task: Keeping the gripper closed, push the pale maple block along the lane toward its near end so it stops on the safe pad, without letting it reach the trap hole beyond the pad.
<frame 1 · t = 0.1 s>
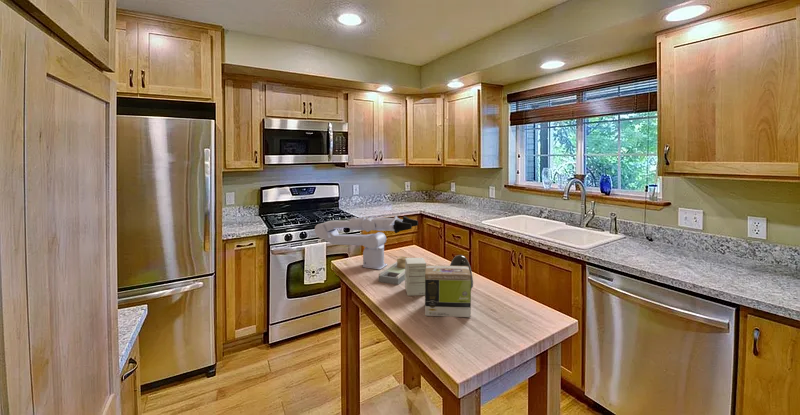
hand: (414, 224, 159), 22 cm above the table, tool horizontal, fingers open, 7 cm apart
supplement box: (415, 292, 140), on the table
tea box: (446, 311, 124), on the table
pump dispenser: (459, 294, 138), on the table
trap lane: (400, 274, 160), on the table
maple block: (403, 266, 162), point 2 cm above the table, touching trap lane
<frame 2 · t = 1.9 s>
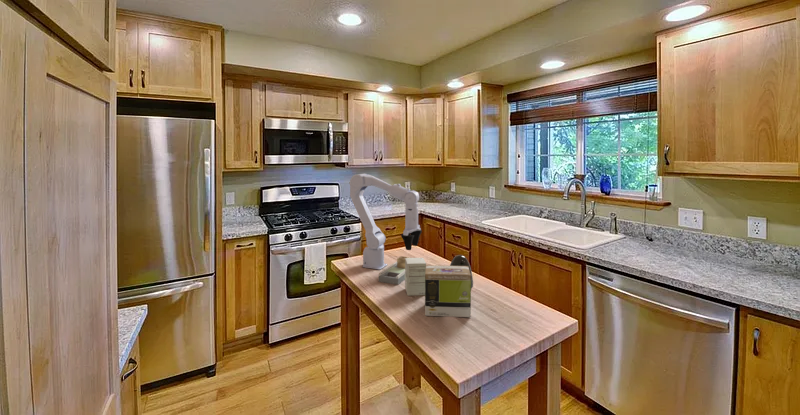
hand: (411, 247, 163), 10 cm above the table, tool pointing down, fingers open, 7 cm apart
nothing on the table moved.
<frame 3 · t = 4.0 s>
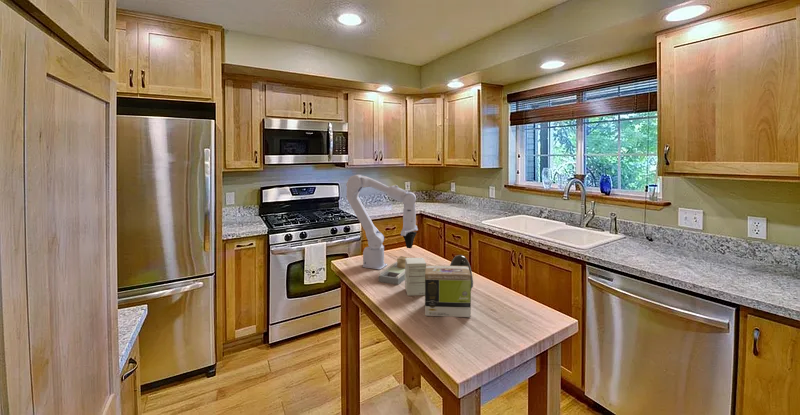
hand: (409, 247, 167), 9 cm above the table, tool pointing down, fingers closed
nothing on the table moved.
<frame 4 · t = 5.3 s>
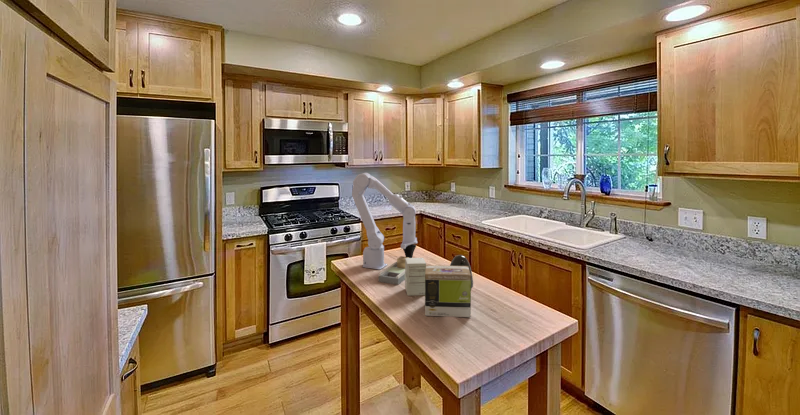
hand: (409, 260, 168), 3 cm above the table, tool pointing down, fingers closed
nothing on the table moved.
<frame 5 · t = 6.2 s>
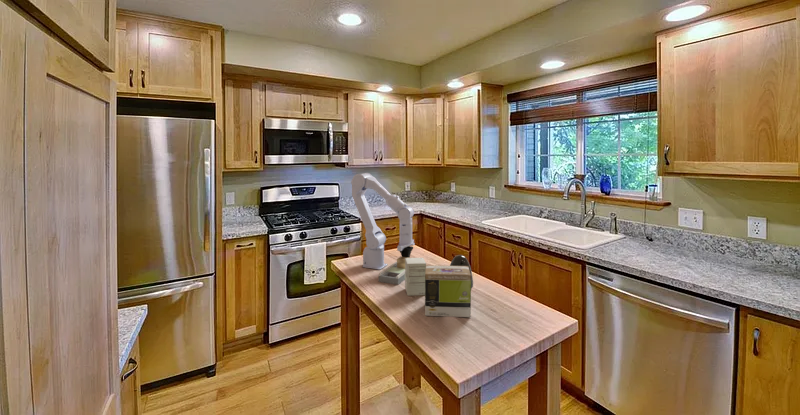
hand: (405, 262, 165), 4 cm above the table, tool pointing down, fingers closed
maple block: (402, 266, 162), point 3 cm above the table, touching gripper
everything else where it was.
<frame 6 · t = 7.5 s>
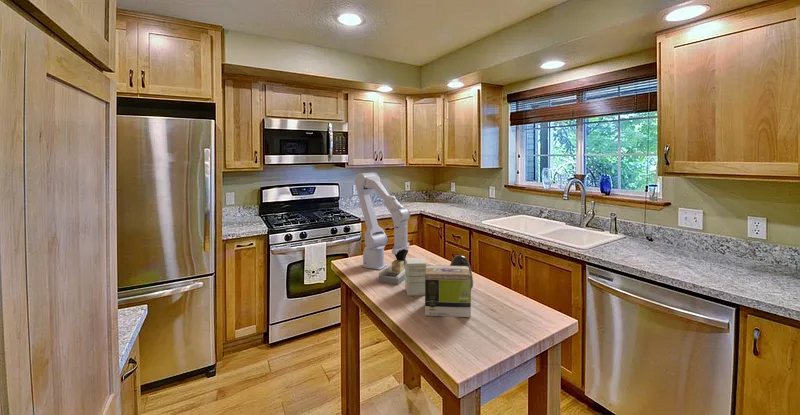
hand: (400, 266, 160), 4 cm above the table, tool pointing down, fingers closed
maple block: (397, 270, 157), point 3 cm above the table, touching gripper, trap lane
everything else where it was.
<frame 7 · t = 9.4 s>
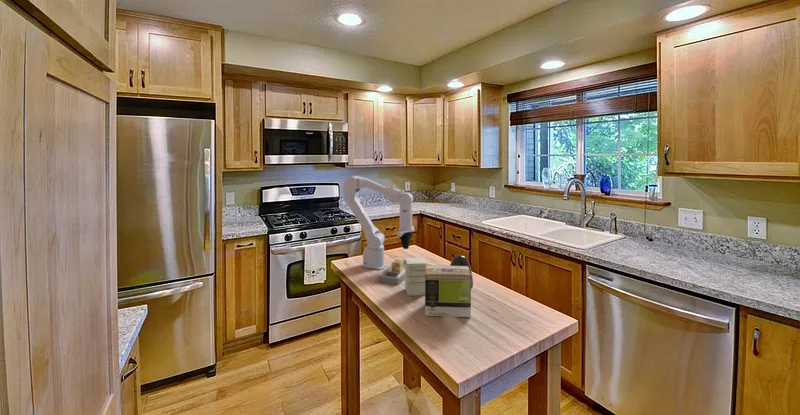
hand: (405, 248, 166), 9 cm above the table, tool pointing down, fingers closed
maple block: (397, 270, 157), point 2 cm above the table, touching trap lane
everything else where it was.
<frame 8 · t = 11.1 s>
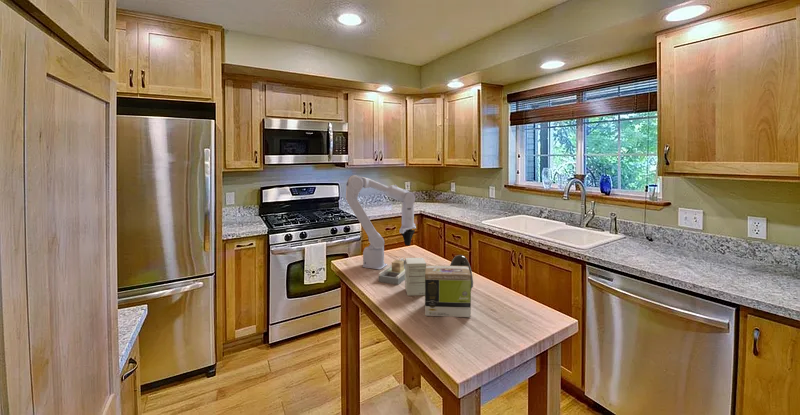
hand: (407, 245, 172), 9 cm above the table, tool pointing down, fingers closed
nothing on the table moved.
at the end: maple block 0.6 cm from the target spot on the trap lane, point 2.5 cm above the trap lane's base; maple block tilted 0° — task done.
